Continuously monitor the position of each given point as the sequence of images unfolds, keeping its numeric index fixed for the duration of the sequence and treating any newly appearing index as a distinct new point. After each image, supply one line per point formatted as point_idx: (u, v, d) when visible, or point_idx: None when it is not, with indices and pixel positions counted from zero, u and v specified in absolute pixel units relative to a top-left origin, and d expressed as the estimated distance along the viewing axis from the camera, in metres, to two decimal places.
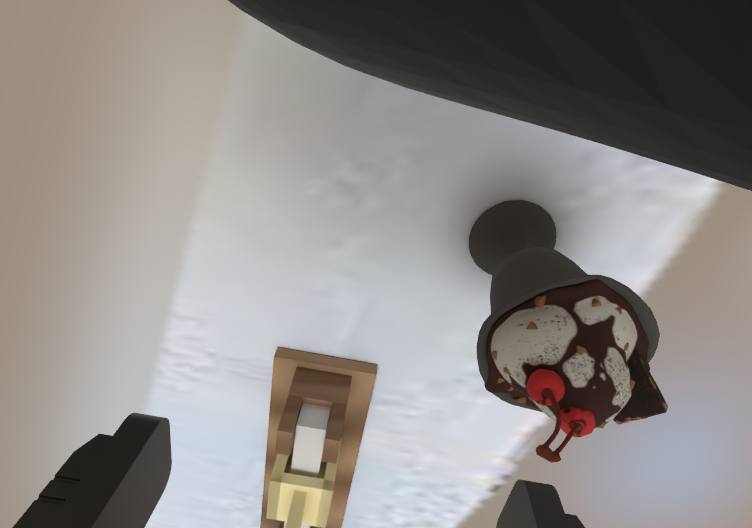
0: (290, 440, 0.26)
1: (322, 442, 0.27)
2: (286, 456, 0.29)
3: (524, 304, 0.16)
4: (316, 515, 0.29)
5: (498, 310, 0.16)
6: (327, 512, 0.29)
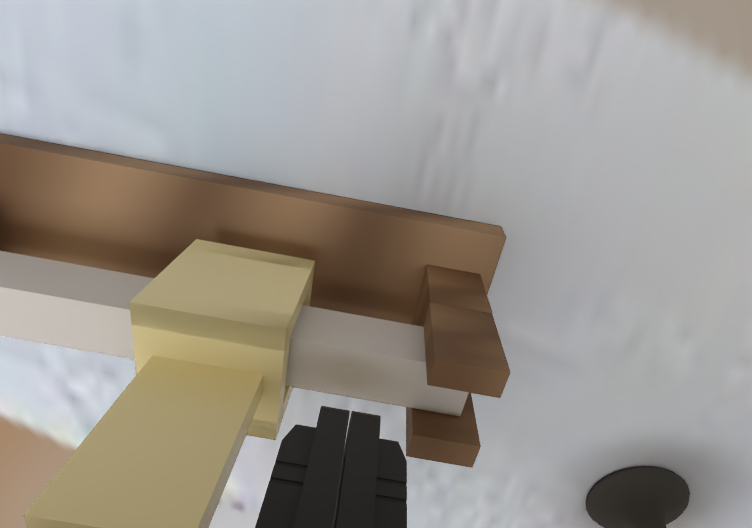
0: (477, 392, 0.12)
1: (425, 407, 0.14)
2: (299, 310, 0.13)
3: None
4: None
5: None
6: None
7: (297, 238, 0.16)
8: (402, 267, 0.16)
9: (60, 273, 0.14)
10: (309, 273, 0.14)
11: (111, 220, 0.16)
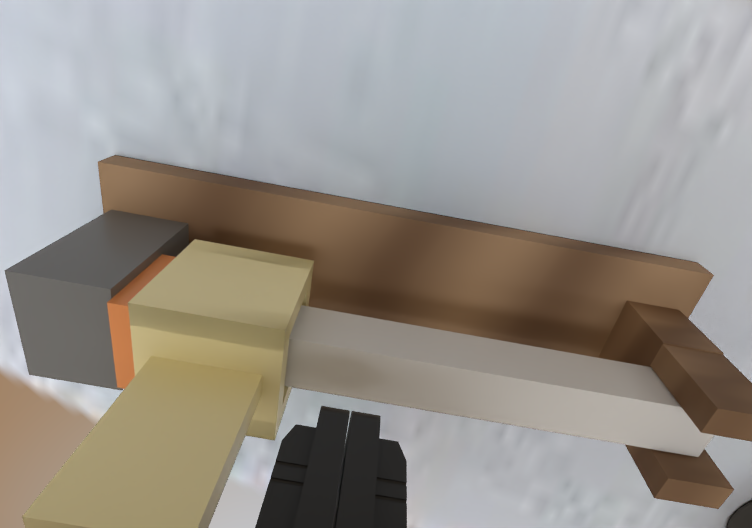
0: (750, 439, 0.12)
1: (665, 449, 0.14)
2: (298, 310, 0.13)
3: None
4: None
5: None
6: None
7: (501, 275, 0.16)
8: (601, 303, 0.17)
9: (305, 317, 0.14)
10: (308, 273, 0.14)
11: (315, 257, 0.16)
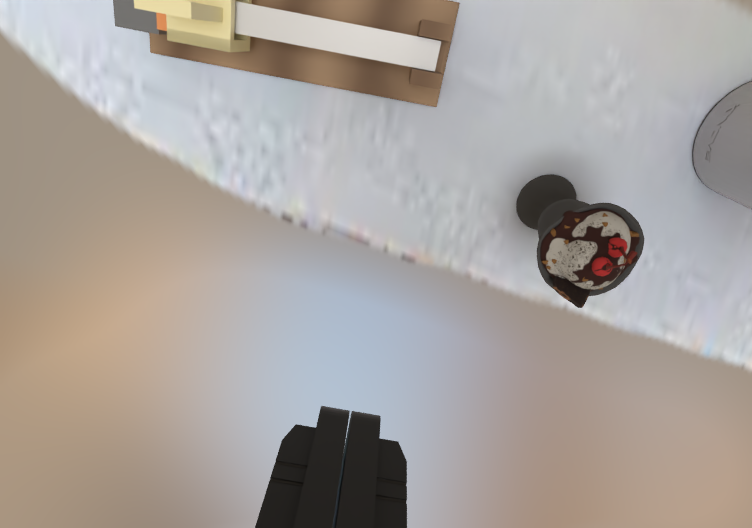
0: (440, 38, 0.27)
1: (418, 66, 0.29)
2: None
3: (628, 226, 0.28)
4: (186, 30, 0.28)
5: (628, 212, 0.28)
6: (194, 44, 0.28)
7: (352, 7, 0.31)
8: (406, 24, 0.32)
9: None
10: None
11: None
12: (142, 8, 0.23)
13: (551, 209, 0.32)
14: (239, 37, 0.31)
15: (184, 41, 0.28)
